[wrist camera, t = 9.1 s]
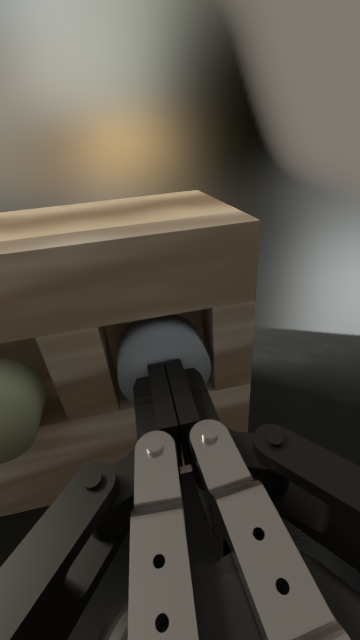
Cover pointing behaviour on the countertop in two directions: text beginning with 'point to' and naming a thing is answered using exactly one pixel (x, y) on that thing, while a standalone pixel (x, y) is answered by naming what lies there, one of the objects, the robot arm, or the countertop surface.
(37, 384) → the button sage
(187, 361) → the button slate
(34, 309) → the box
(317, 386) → the countertop surface
